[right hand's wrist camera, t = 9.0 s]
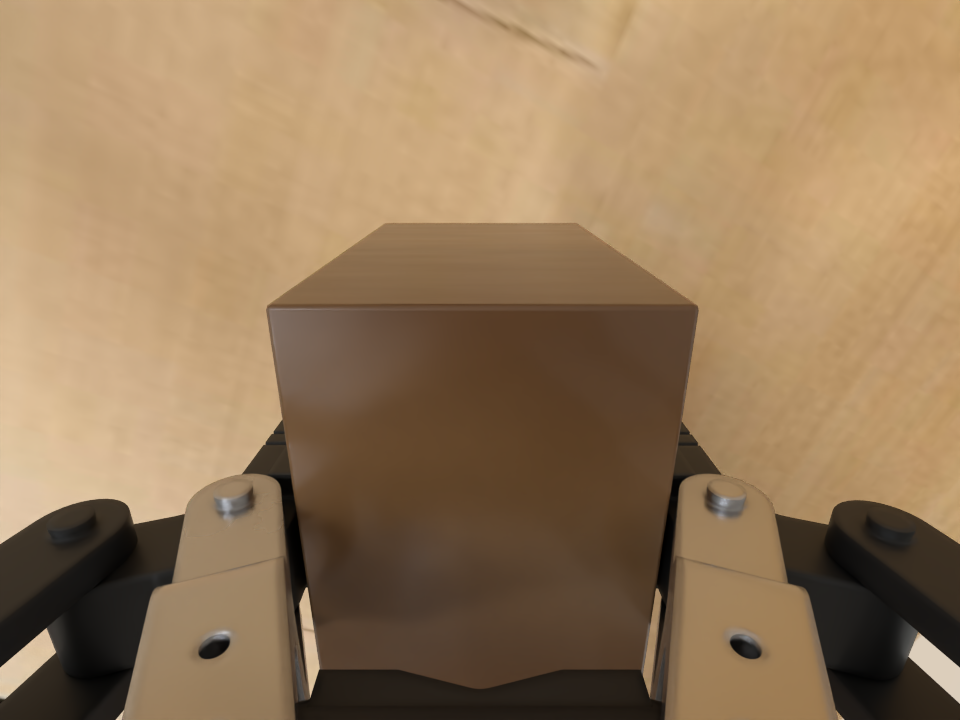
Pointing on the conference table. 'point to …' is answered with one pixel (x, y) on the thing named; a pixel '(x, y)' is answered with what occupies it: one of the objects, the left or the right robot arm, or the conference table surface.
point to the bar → (482, 448)
